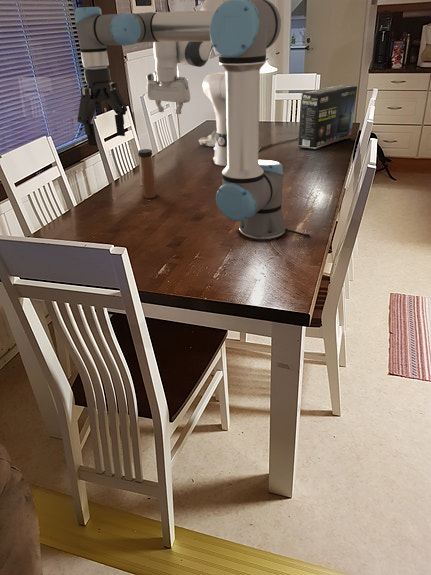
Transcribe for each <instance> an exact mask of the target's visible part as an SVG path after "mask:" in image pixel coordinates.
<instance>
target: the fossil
mask: <svg viewBox="0 0 431 575" xmlns="http://www.w3.org/2000/svg"><path fill="white" fill-rule="evenodd" d="M216 132H217V130H216V129H214V130H212V133H210V134H208V135H207V137H205V136H203V137H201V138H199V139H198V142H199V144H200V146H203V147H204V146H207V147H213V148H215V143H216V142H217V140H216Z"/></svg>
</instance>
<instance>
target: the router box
mask: <svg viewBox="0 0 431 575" xmlns="http://www.w3.org/2000/svg"><path fill="white" fill-rule="evenodd" d="M357 93H358V86H356V85H350V84H339V85H338V84H337V85H334V86H328V87H324V88H318V89H314V90H309V91H304V92H301V93H300V109H299V110H300V111H299V124H298V136H297V137H298V138H297V146H298V145H302V146H307V147H317V146H320V145H323V144H325V143H328V142H331V141H333V140H336V139H338V138H341V137H344V136H347V135H351V136H352V133H353V132H352V131H353V125H354V115H355V109H356V99H357ZM311 151H313V150H312V149H311Z"/></svg>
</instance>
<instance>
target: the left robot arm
mask: <svg viewBox="0 0 431 575" xmlns="http://www.w3.org/2000/svg"><path fill="white" fill-rule="evenodd" d="M226 1H228V0H204V1H203V3H202V4H201V6H200V9H199V11H201V10H217V8H218V7H219V6H220V5H221V4H223V3H224V2H226ZM152 46H153V57H154V61H155V64H154V65H155V66H154V70H155V71H152V72H151V73H148V74H147V75H146V76H145V78H146V81H147V82H146V94H147V98H148V100H149V101H154V102H155V105H156V107H157V110H158V113H163V112H165V111H164V109H165V108H164V107H163V106H162V102H168V103H169V102H170V103H176V105H177V108H176V109H175V114H176V115H181V114H182V108H183V106H184V104H185V103H190V101H191V92H190V87H189V82H188V79H187V78H186V76H179V67H178V65H180V66H181V65H182V66H193V67H198V68H201V67H203V66H205V65H206V64H207V63H208V62H209V59H210V56H211V53H212V51H213V49H214V48H215V47H214V46H213V45H212V42H152ZM202 91H203V94H204V95H205V96H206V97H207V98H208V99H209V101H210V103H211V105H212V107H213V111H214V114H215V123H216V124H215V126H216V131H217V132H216V140H217V142H216V143H215V146H214V147H213V151H214V154H213V157H212V161H213V163H214V164H215V165H216V166H217V165H218V166H221V167H226V166H227V120H226V75H225V72H213V73H209V74H207V75H205V77H204V78H203V81H202ZM263 148H264V147H262V146H260V147H259V153H260V151H261V150H262V149H263Z"/></svg>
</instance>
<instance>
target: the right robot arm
mask: <svg viewBox="0 0 431 575" xmlns="http://www.w3.org/2000/svg"><path fill="white" fill-rule="evenodd" d="M74 19H75V20H74V21H75V27H76V32H77V38H78V43H79V50H80V55H81V62H82V67H83V68H84V70H83V73H84V80H85V82H86V83H87V87H80V100H79V101H80V102H79V108H78V113H77V114H78V115H77V123H80V124H82V125H83V128H84V132H85V136H86V137H87V143H88V146H91V147H96V146H98V142H97V138H96V131H95V125H94V123H92V121H93V119H94V115H95V113H96V109H97V107H98V105H99V104H100V102H101V103H102V102H103V101H106V102H107V104H108V105H109V107H111V109H112V110H113V111H114V113H115V115H114V121H115V128H116V134H117V136H118V137H126V130H125V118H124V116H125V115H127V112H128V108H127V105H126V103H125V101H124V99H123V96H122V94H121V92H120V90H119V86H118V82H116V81H114V82H113V81H112V78H111V71H110V68H109V67H108V66H109V65H110V63H109V56H108V50H107V46H124V47H125V46H133V45H136V44H139V43H153V42H212V45H213V46H214V47H213V48H215V51H216V52H217V53H218V65H220V66H221V67H222V68H223V70H224V73H225V75H226V120H227V166H224V168H223V169H222V171H221V180H222V182H221V183H222V185H220V187H218V189H217V191H216V194H215V202H216V206H217V208H218V211H219V212H220V213H221V214H223V216H224V217H225V218H226V219H228V220H230V221H233V222H239V226H238V232H239V235H240V236H241V237H242V238H244V239H247V240H250V241H254V242H271V241H277V240H279V239H281V238H283V237H285V235H286V234H287V232H288V233H292V234H296V235H299V236H302V237H309V238H310V235H311V234H310V233H303V232H299V231H296V230H294V229H289V228H287V223H286V221H285V216H284V214H283V210H282V200H283V183H284V168H283V164H282V163H280V162H279V161H275V160H270V159H259V155H260V154H259V153H260V152H259V148H260V147H259V146H260V144H259V143H260V141H259V140H260V84H261V82H260V80H261V79H260V76H261V75H260V74H261V68H262V67H263V66H264V65H265V64H266V63H267V49H269V48H270V47H272V46H273V45H274V44H275V43H276V41H277V40H278V38H279V36H280V33H281V29H282V28H281V27H282V18H281V14H280V11H279V9H278V7H276V6H275V4H274V3H273V2H271V1H270V0H228V1H226V2H224V3H223V4H221V5H220V6H219V7H218V8H217V10H201V11H200V10H183V11H181V10H179V11H159V12H150V11H149V12H138V13H133V12H132V13H126V12H124V13H110V14H103V13H102V9H101V8H100V6H86V7H84V6H83V7H81V6H80V7H76V8H75V10H74Z"/></svg>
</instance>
